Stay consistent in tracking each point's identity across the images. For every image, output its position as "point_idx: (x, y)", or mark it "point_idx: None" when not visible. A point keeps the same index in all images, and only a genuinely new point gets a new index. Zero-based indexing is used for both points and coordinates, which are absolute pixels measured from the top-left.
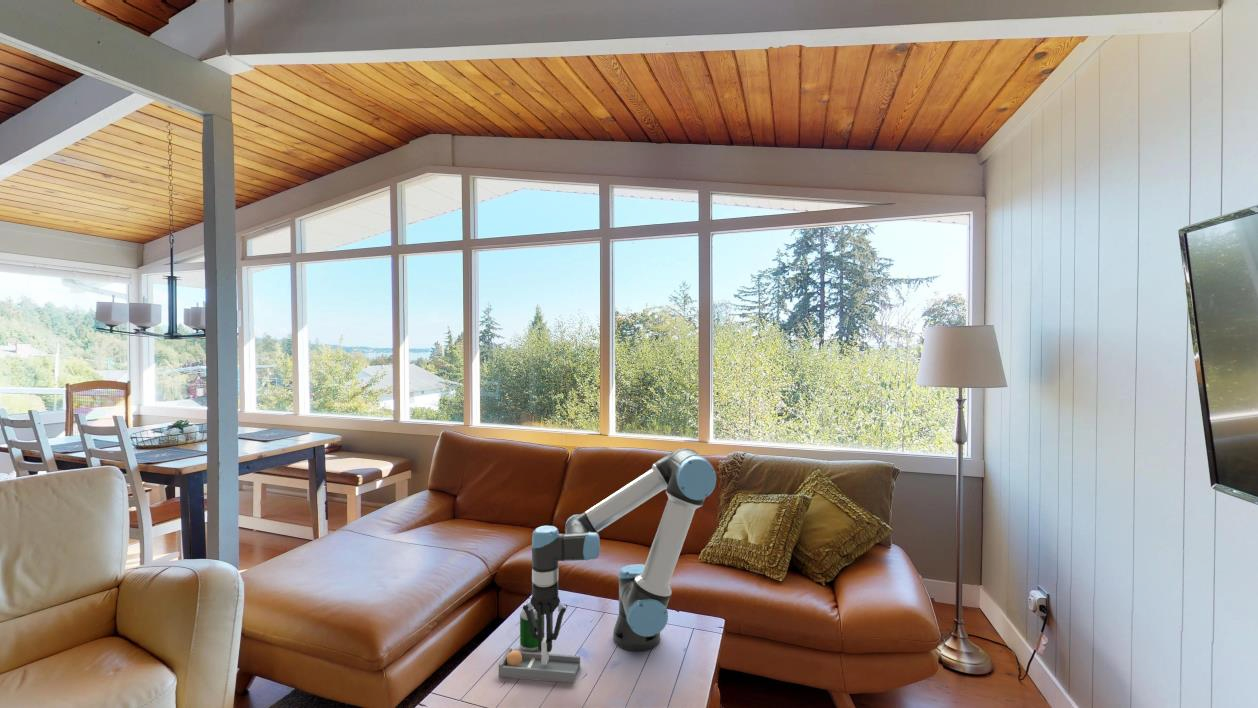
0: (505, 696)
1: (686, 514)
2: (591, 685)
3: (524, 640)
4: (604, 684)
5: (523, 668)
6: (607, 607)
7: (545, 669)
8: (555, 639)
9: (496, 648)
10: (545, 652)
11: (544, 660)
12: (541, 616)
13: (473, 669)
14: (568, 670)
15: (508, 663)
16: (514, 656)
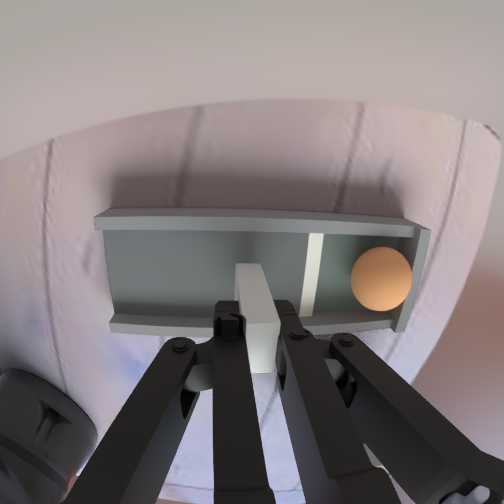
0: (359, 106)
1: None
2: (53, 205)
3: (354, 379)
4: (22, 218)
5: (336, 225)
6: (161, 489)
7: (231, 227)
8: (172, 339)
9: (415, 348)
10: (244, 290)
11: (246, 271)
12: (338, 497)
13: (463, 248)
14: (137, 258)
15: (397, 251)
16: (391, 268)
